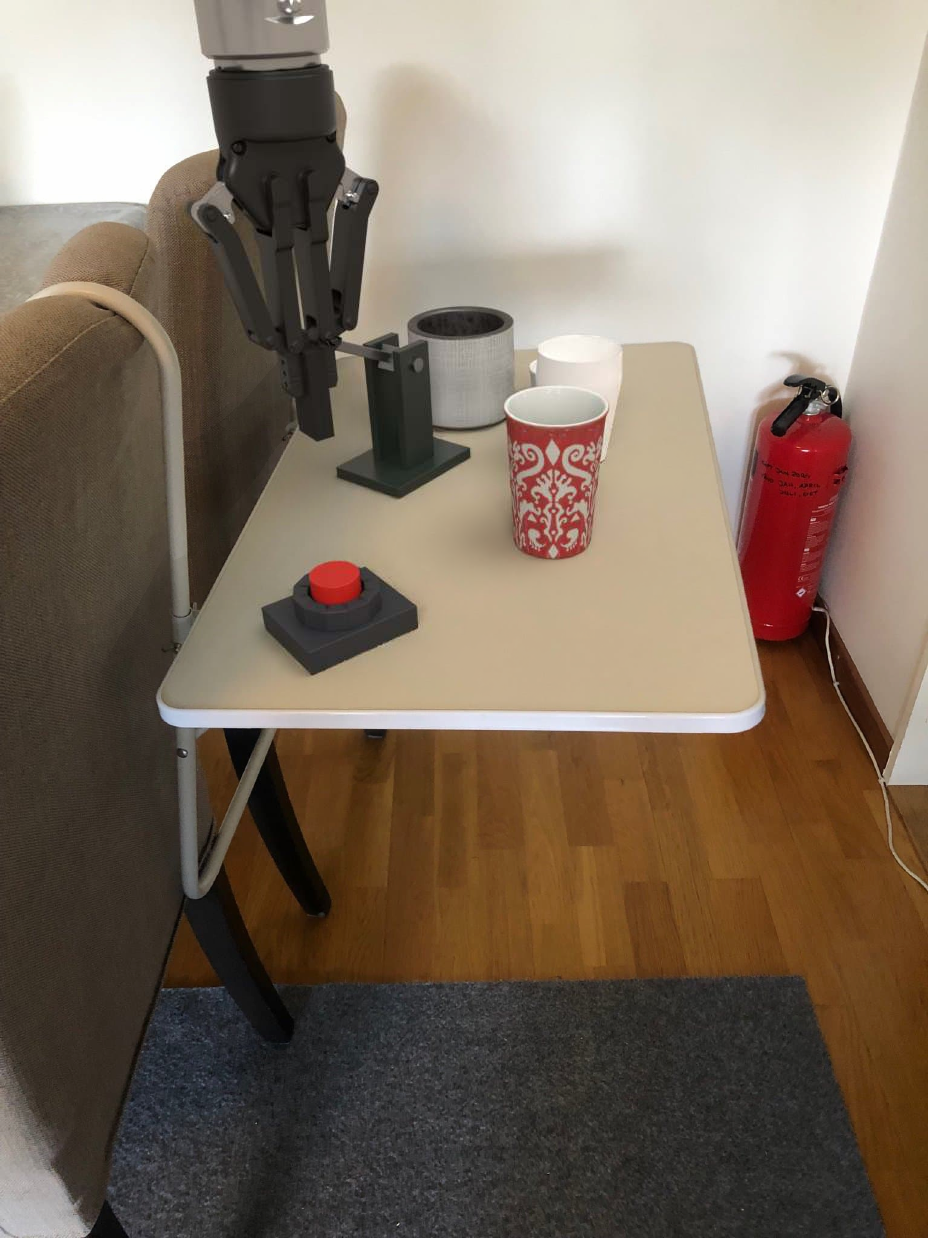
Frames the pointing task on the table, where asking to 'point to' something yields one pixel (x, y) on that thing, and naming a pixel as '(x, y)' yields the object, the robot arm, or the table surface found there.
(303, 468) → the table surface
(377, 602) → the switch block
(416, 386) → the lever bracket
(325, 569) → the button
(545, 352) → the cup
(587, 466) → the mug
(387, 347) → the switch lever
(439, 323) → the planter
